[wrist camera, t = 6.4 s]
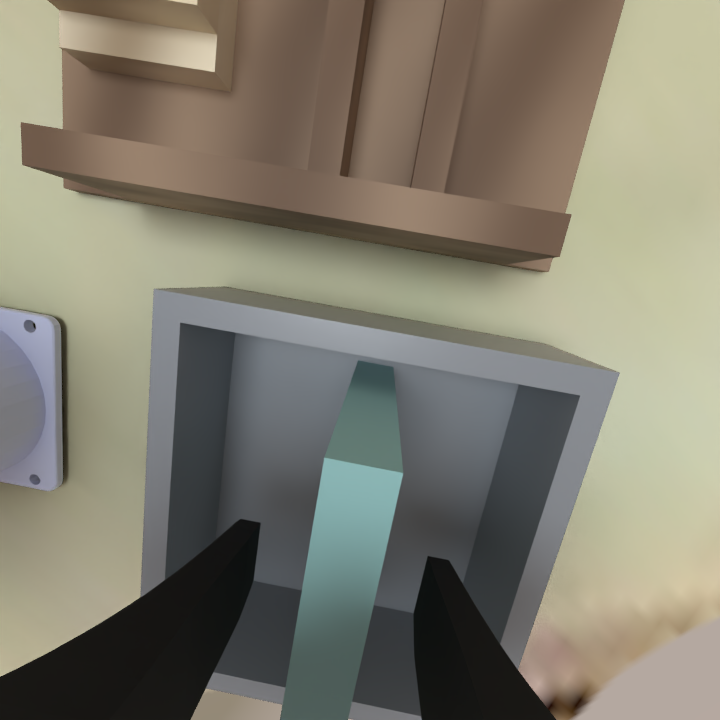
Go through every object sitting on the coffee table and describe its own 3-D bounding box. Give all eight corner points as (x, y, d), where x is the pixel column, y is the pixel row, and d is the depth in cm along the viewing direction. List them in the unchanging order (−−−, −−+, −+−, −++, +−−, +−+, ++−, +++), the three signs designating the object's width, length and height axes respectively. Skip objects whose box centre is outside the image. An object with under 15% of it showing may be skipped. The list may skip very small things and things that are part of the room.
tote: (199, 575, 17) (137, 673, 13) (224, 286, 14) (153, 288, 10) (463, 628, 17) (490, 749, 13) (546, 344, 14) (619, 372, 10)
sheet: (319, 573, 16) (259, 840, 9) (358, 360, 14) (324, 457, 6) (350, 579, 16) (317, 853, 8) (393, 366, 14) (403, 472, 6)
